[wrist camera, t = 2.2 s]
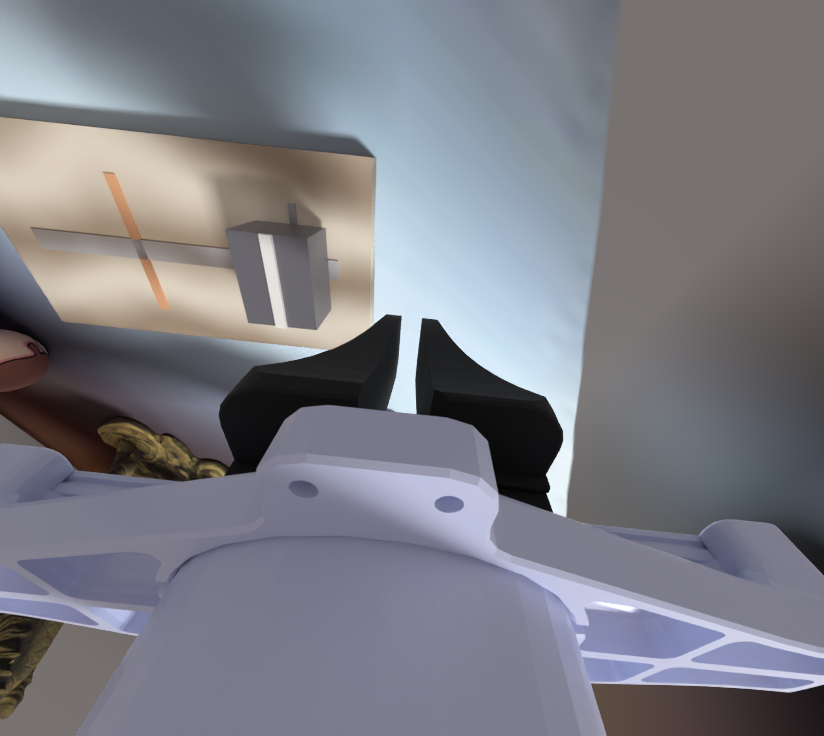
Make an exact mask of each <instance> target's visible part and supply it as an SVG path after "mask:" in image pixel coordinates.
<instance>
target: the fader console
mask: <svg viewBox="0 0 824 736" xmlns="http://www.w3.org/2000/svg"><path fill="white" fill-rule="evenodd" d="M375 191H376V158H372V157H363V156H354V155H345V154H336V153H327V152H318V151H308V150H299V149H290V148H281V147H272V146H262V145H253V144H244V143H235V142H226V141H216V140H207V139H198V138H189V137H180V136H171V135H161V134H152V133H143V132H134V131H125V130H115V129H106V128H97V127H88V126H79V125H69V124H60V123H51V122H42V121H33V120H24V119H14V118H5V117H0V226H1V227H2V229H3V230H4V232H5V233H6V235H7V237H8V238H9V240H10V241H11V243H12V244H13V246H14V247H15V249H16V250H17V252H18V254H19V255H20V257H21V258H22V260H23V261H24V263H25V264H26V266H27V268H28V269H29V271H30V272H31V274H32V275H33V277H34V278H35V280H36V281H37V283H38V285H39V286H40V288H41V289H42V291H43V292H44V294H45V295H46V297H47V298H48V300H49V302H50V303H51V305H52V306H53V308H54V309H55V311H56V312H57V314H58V316H59V317H60V319H61V320H62V322H72V323H81V324H90V325H100V326H109V327H119V328H128V329H137V330H147V331H156V332H166V333H175V334H185V335H194V336H203V337H213V338H222V339H232V340H241V341H250V342H260V343H269V344H279V345H288V346H297V347H307V348H316V349H326V350H331V349H333V348H336V347H338V346H340V345H342V344H344V343H346V342H348V341H350V340H352V339H354V338H355V337H357V336H358V335H360V334H361V333H363V332H364V331H366V330H367V329H369V328H370V327H371V326H373V316H374V253H375ZM255 220H258V221H267V222H277V223H286V224H295V225H304V226H314V227H323V228H326V241H327V255H328V269H329V283H330V297H331V311H330V312H329V314H328V315H327V317H326V318H325V319H324V321H323V322H322V324H321V325H320V327H319V328H318V329H317V330H309V329H300V328H290V327H287V329H284V328H276V326H272V325H262V324H253V323H248V320H247V316H246V312H245V308H244V304H243V300H242V296H241V292H240V288H239V284H238V280H237V276H236V272H235V268H234V264H233V260H232V256H231V252H230V248H229V244H228V240H227V236H226V232H225V229H228V228H231V227H235V226H238V225H241V224H245V223H248V222H251V221H255Z"/></svg>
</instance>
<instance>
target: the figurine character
mask: <svg viewBox="0 0 824 736" xmlns="http://www.w3.org/2000/svg"><path fill="white" fill-rule="evenodd" d="M48 366H49V356H48V353H47V351H46V350H45V348H44V347H43V346H42V345H41V344H40V343H39V342H37V341H36V340H35V339H33V338H31V337H29V336H27V335H24V334H22V333H19V332H15V331H10V330H3V329H0V392H4V391H12V390H17V389H20V388H23V387H26V386H29V385H31V384H33V383H34V382H36V381H37V380H39V379H40V378H41V377H42V376H43V375H44V374H45V372H46V371H47V369H48Z"/></svg>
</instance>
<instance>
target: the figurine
mask: <svg viewBox="0 0 824 736" xmlns="http://www.w3.org/2000/svg"><path fill="white" fill-rule="evenodd" d="M97 429H98V433H99V435H100V436H101V438H102V440H103V441H104V442H105V443H107V444H109V445H111V446H113V447H115V448H117V453H116V456H115V458H114V460H113V462H112V464H111V465H110V468H109V472H108V473H107V474H113V475H122V476H136V477H141V478H151V479H160V480H170V481H180V482H183V481H191V480H199V479H206V478H214V477H221V476H224V475H225V473H226V472H227V470H228V469H229V467H227V466H226V465H224V464H222V463H219V462H216V461H211V460H204V459H199V458H196V457H194V456H193V455H192V453H191V452H190V450H189V449H188V448H187V447H186V446H185V445H184V444H183V443H182V442H181V441H179V440H178V439H176V438H174V437H172V436H170V435H158V434H156V433H154V432H153V431H152V430H151V429H150V428H148V427H147V426H145V425H144V424H142V423H140V422H138V421H135V420H132V419H129V418H123V417H116V418H114V419H111V420H109V421H107V422H105V423H103V424H102V425H100V426H98V428H97ZM63 624H64V622H58V621H52V620H46V619H40V618H34V617H28V616H21V615H14V614H7V613H0V718H1V719H5V718H8V717H9V716H10V715H11V714H12V713H13V712H14V710H15V709H16V707H17V705H18V704H19V703H20V702H21V701H22V699H23V696H24V690H25V688H26V686H27V685H28V684H30V683H31V682H32V675H33V672H34V670H35V668H36V666H37V664H38V663H39V662H40V660H41V659H42V657H43V656H44V655H45V653H46V651H47V650H48V648H49V646H50V645H51V643H52V641H53V640H54V638H55V637H56V635H57V633H58V631H59V630H60V628H61V627H62V625H63Z"/></svg>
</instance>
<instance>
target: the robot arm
mask: <svg viewBox="0 0 824 736" xmlns="http://www.w3.org/2000/svg"><path fill="white" fill-rule="evenodd" d="M401 317H402V316H397V315H387V314H386V315H385V316H384V317H383V318H381V319H380V320H379V321H378V322H376V323H375V324H374V325H373V326H371V327H370V328H369V329H367V330H366V331H364V332H363V333H361V334H360V335H358V336H357V337H355V338H354V339H352V340H350V341H348V342H346V343H344V344H342V345H340V346H338V347H336V348H333V349H331V350H328V351H325V352H322V353H319V354H317V355H314V356H310V357H306V358H302V359H298V360H294V361H289V362H283V363H276V364H269V365H262V366H254V367H253V368H252V369H251V370H250V371H249V372H248V373H247V374H246V375H245V377H244V378H243V379H242V380H241V381H240V382H239V383H238V384H237V385H236V387H235V388H234V389H233V390H232V391H231V392H230V393H229V394H228V396H227V397H226V398H225V400H224V401H223V402H222V404H221V405H220V410H219V419H220V423H221V427H222V429H223V432H224V434H225V437H226V439H227V442H228V445H229V447H230V450H231V452H232V455H233V457H234V462H233V463H232V465H231V466H230V467H229V469H228V470H227V472H226V473H225V475H224V476H221V477H214V478H206V479H199V480H191V481H183V482H180V481H170V480H160V479H151V478H141V477H132V476H122V475H113V474H103V473H93V472H84V471H74V469H73V467H72V465H71V464H70V462H69V461H68V460H67V459H66V458H65V457H64V456H63V455H61V454H60V453H58V452H56V451H54V450H52V449H48V448H43V447H33V446H24V445H15V444H0V612H1V613H7V614H14V615H21V616H28V617H34V618H40V619H46V620H52V621H58V622H64V623H69V624H75V625H80V626H87V627H91V628H97V629H102V630H108V631H113V632H119V633H124V634H130V635H135V636H137V638H136V639H135V641H134V643H133V644H132V646H131V647H130V649H129V650H128V652H127V654H126V655H125V657H124V659H123V660H122V662H121V663H120V665H119V666H118V668H117V670H116V671H115V673H114V674H113V676H112V678H111V679H110V681H109V682H108V684H107V685H106V687H105V689H104V690H103V692H102V693H101V695H100V697H99V698H98V700H97V701H96V703H95V704H94V706H93V708H92V709H91V711H90V712H89V714H88V716H87V717H86V719H85V721H84V722H83V724H82V725H81V727H80V729H79V730H78V732H77V733H76V735H75V736H606V732H605V729H604V726H603V722H602V719H601V716H600V713H599V709H598V706H597V703H596V700H595V696H594V693H593V690H592V687H591V683H606V684H653V685H654V684H655V685H688V686H713V687H731V688H747V689H758V690H771V691H781V692H794V691H798V690H802V689H807V688H810V687H815V686H819V685H824V576H823V575H822V574H821V573H820V572H819V570H817V568H816V567H815V566H814V565H813V564H812V563H811V562H810V561H809V560H808V559H807V558H806V557H805V556H804V555H803V554H802V553H801V552H800V551H799V550H798V549H797V548H796V546H795V545H794V544H792V542H791V541H790V540H789V539H788V538H787V537H786V536H785V535H784V534H783V533H782V532H781V531H780V530H779V529H778V528H777V527H776V526H775V525H773V524H769V523H761V522H751V521H742V520H732V519H731V520H720V521H717V522H714V523H712V524H710V525H709V526H707V527H706V528H705V529H704V530H703V531H702V532H701V533H700V535H699V536H697V535H687V534H678V533H669V532H659V531H649V530H640V529H630V528H619V527H610V526H602V525H592V524H583V523H580V522H577V521H575V520H572V519H569V518H566V517H563V516H560V515H557V514H555V513H553V511H552V508H551V505H550V502H549V500H548V497H547V494H546V493H548V492H549V491H550V485H549V482H548V479H547V477H546V473H547V472H548V470H549V468H550V466H551V465H552V463H553V461H554V459H555V458H556V456H557V454H558V452H559V451H560V448H561V445H562V442H563V430H562V428H561V426H560V424H559V422H558V420H557V417H556V415H555V413H554V411H553V409H552V407H551V405H550V404H549V402H548V400H547V399H546V397H544V396H541V395H539V394H536V393H533V392H531V391H528V390H525V389H523V388H520V387H518V386H516V385H514V384H511V383H509V382H507V381H505V380H503V379H501V378H499V377H498V376H496V375H494V374H492V373H491V372H489V371H488V370H486V369H484V368H483V367H482V366H480V365H479V364H477V363H476V362H475V361H474V360H472V359H471V358H470V357H469V356H467V355H466V354H465V353H464V352H463V351H462V350H461V349H460V348H459V347H458V346H457V345H456V344H455V343H454V342H453V340H452V339H451V338H450V337H449V335H448V334H447V333H446V331H445V330H444V328H443V327H442V326H441V324H440V323H439V321H438V320H434V319H425V318H422V324H421V333H420V341H419V349H418V358H417V368H416V379H415V382H416V410H417V414H409V413H399V412H390V411H386V410H387V406H388V403H389V399H390V396H391V392H392V389H393V385H394V382H395V378H396V372H397V365H398V357H399V344H400V330H401Z"/></svg>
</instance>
